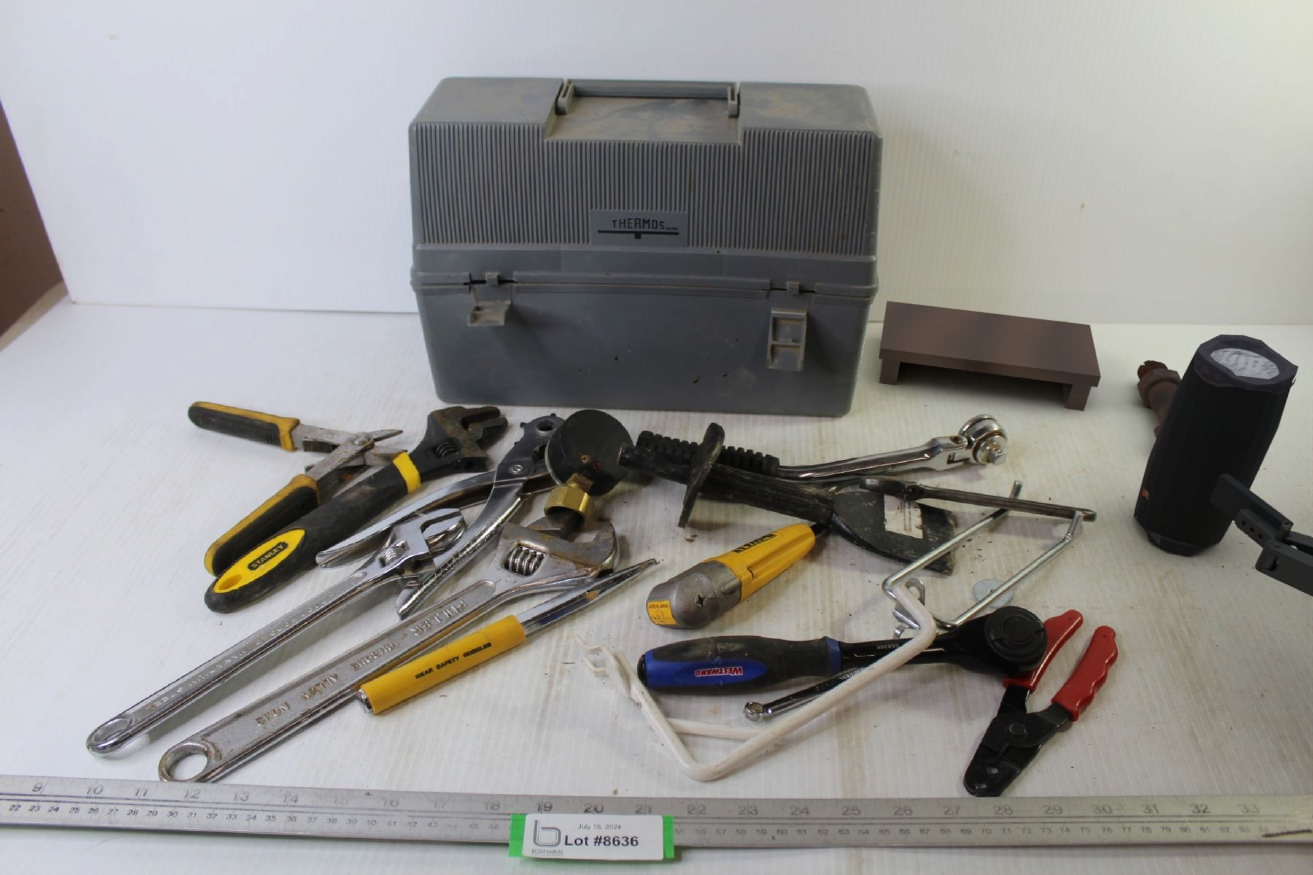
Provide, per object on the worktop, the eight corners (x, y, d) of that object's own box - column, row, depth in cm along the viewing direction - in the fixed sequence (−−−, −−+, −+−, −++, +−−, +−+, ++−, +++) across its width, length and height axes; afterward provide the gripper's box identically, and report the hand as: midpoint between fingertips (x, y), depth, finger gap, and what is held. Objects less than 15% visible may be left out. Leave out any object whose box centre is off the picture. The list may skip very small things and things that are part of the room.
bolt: (1148, 397, 116) (1182, 470, 103) (1115, 375, 115) (1145, 446, 102) (1187, 363, 112) (1227, 433, 100) (1154, 340, 112) (1190, 408, 99)
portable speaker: (1128, 550, 91) (1195, 373, 80) (1126, 491, 98) (1188, 321, 87) (1229, 572, 89) (1313, 393, 77) (1219, 510, 96) (1295, 338, 84)
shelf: (1079, 360, 119) (1090, 324, 116) (1089, 413, 110) (1101, 376, 107) (881, 335, 124) (886, 300, 121) (874, 384, 115) (880, 347, 112)
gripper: (1378, 741, 63) (1147, 536, 80) (1638, 649, 70) (1376, 477, 86) (1432, 664, 59) (1176, 463, 75) (1704, 573, 65) (1415, 407, 82)
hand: (1282, 470), depth 81 cm, fingers open, 13 cm apart
